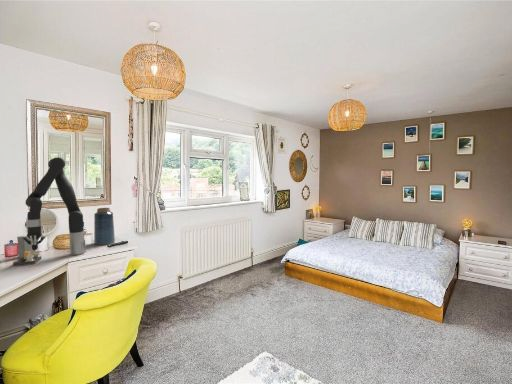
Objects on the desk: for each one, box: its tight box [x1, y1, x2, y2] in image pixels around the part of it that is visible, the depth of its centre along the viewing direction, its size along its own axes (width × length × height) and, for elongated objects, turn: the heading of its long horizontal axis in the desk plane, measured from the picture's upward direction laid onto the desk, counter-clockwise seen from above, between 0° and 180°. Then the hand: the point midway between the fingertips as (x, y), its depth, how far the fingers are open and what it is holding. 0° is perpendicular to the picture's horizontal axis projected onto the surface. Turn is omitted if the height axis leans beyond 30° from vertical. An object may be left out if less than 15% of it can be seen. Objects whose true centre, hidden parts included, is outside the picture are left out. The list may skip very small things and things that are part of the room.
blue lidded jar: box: [93, 207, 116, 246], centre depth 238 cm, size 16×16×32 cm
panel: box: [12, 250, 42, 266], centre depth 186 cm, size 12×12×6 cm
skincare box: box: [16, 234, 36, 258], centre depth 199 cm, size 8×7×16 cm
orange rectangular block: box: [22, 251, 31, 260], centre depth 186 cm, size 4×4×5 cm
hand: (34, 249), depth 187 cm, fingers closed
